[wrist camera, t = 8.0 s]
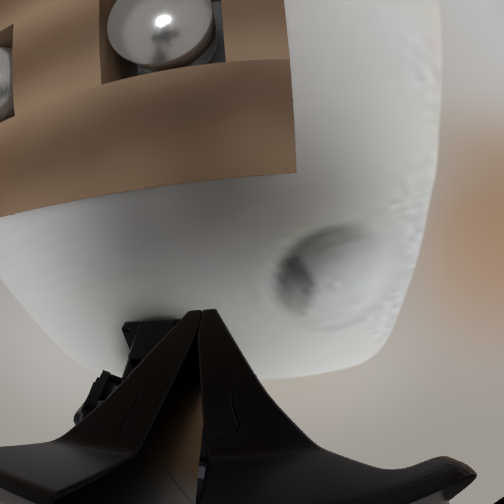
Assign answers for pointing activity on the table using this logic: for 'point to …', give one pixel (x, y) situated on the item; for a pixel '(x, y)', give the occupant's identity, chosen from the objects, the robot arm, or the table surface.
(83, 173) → the walnut block
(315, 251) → the table surface
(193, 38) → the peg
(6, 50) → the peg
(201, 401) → the robot arm
